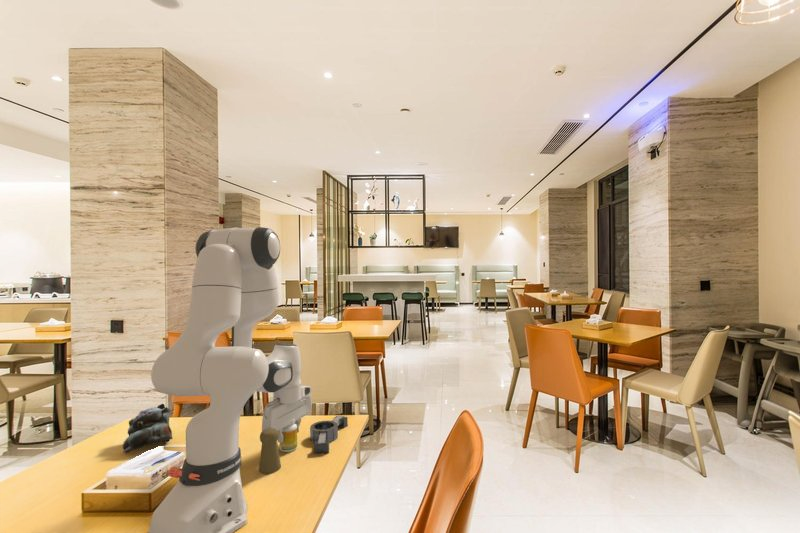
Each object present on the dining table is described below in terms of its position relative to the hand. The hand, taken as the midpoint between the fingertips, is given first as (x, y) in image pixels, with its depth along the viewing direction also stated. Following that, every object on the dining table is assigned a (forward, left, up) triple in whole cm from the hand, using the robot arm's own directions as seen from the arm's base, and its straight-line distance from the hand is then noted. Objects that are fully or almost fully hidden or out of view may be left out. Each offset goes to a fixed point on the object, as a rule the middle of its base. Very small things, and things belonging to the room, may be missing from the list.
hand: (288, 437), depth 124 cm
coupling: (+11, -8, -4) cm, 14 cm away
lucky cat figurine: (-14, +46, -4) cm, 49 cm away
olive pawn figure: (-12, -3, -4) cm, 13 cm away
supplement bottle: (0, 0, -4) cm, 4 cm away
